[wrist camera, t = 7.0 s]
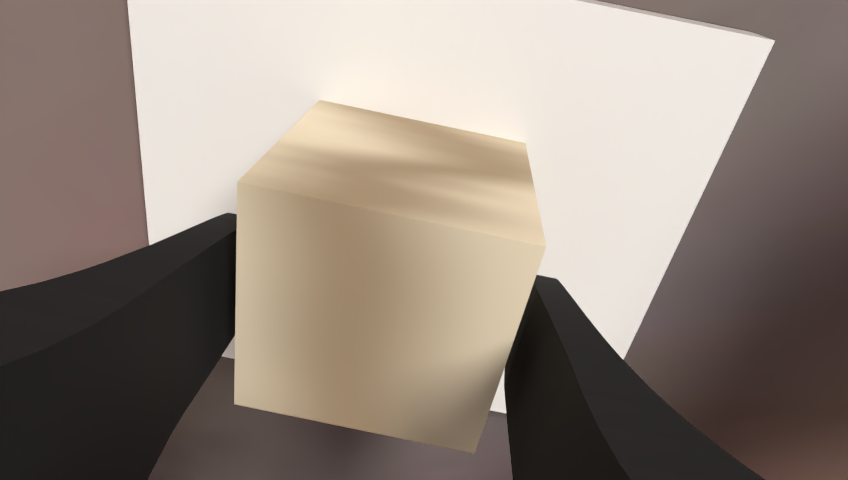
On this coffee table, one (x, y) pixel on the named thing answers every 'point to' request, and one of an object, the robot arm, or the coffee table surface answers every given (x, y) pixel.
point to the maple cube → (383, 274)
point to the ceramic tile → (460, 112)
